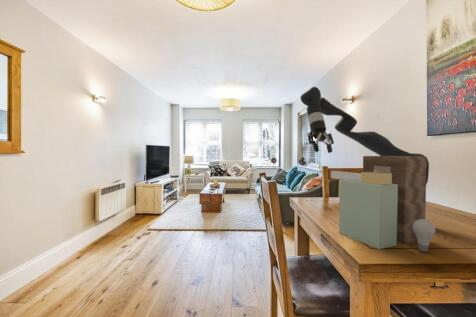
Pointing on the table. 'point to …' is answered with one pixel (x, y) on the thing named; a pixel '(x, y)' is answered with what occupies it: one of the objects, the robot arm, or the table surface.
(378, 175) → the shaft
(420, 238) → the lightbulb
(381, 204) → the sage green carton
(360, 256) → the table surface
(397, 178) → the parts stand
